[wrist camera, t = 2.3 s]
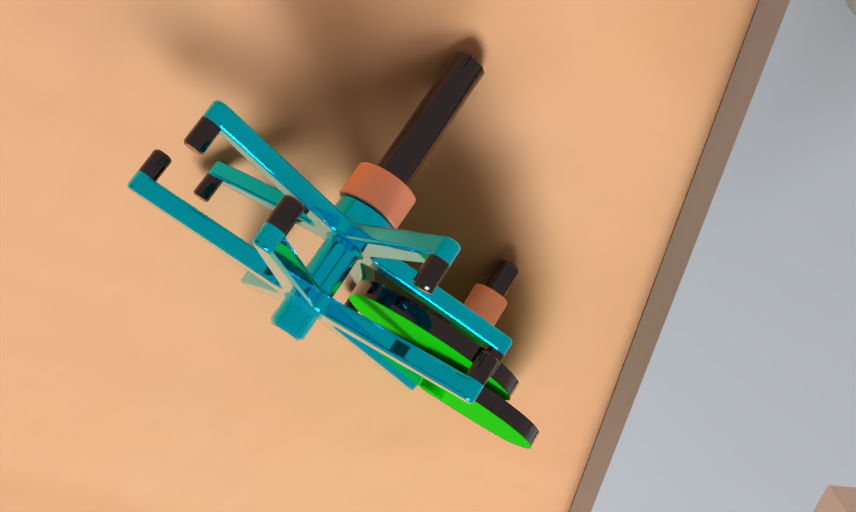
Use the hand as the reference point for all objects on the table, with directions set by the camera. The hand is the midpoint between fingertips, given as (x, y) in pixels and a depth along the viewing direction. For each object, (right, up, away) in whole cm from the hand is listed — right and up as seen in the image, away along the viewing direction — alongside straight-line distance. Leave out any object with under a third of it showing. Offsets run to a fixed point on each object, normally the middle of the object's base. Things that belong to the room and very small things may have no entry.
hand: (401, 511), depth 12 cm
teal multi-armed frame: (0, +5, +8) cm, 9 cm away
